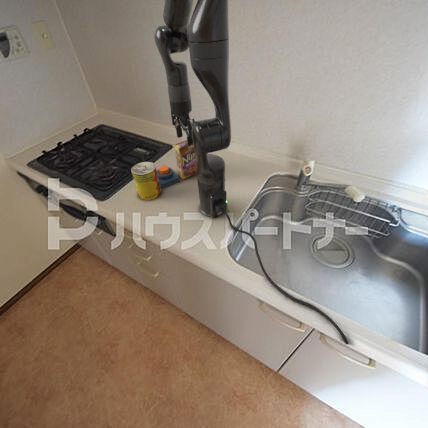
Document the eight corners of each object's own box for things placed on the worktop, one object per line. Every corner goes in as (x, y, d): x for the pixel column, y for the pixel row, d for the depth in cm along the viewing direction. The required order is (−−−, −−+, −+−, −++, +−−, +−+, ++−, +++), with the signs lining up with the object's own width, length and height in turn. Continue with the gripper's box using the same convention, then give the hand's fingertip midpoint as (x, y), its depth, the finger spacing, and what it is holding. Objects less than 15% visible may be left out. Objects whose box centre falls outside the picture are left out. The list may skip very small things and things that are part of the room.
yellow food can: (157, 200, 93) (150, 175, 85) (135, 199, 94) (127, 174, 86) (164, 186, 99) (158, 162, 91) (143, 185, 101) (136, 160, 92)
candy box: (183, 180, 102) (178, 148, 91) (178, 175, 105) (173, 143, 94) (200, 173, 105) (198, 141, 94) (195, 168, 108) (192, 137, 97)
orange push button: (179, 181, 101) (178, 173, 99) (162, 188, 99) (161, 180, 96) (169, 170, 108) (167, 163, 105) (152, 177, 105) (150, 169, 102)
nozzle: (171, 172, 100) (170, 168, 99) (162, 176, 99) (161, 172, 97) (166, 168, 102) (165, 164, 101) (158, 171, 101) (157, 167, 100)
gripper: (161, 94, 85) (168, 137, 97) (180, 105, 77) (186, 151, 88) (179, 90, 88) (184, 132, 99) (199, 100, 79) (202, 144, 91)
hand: (185, 140), depth 94 cm, fingers open, 8 cm apart
